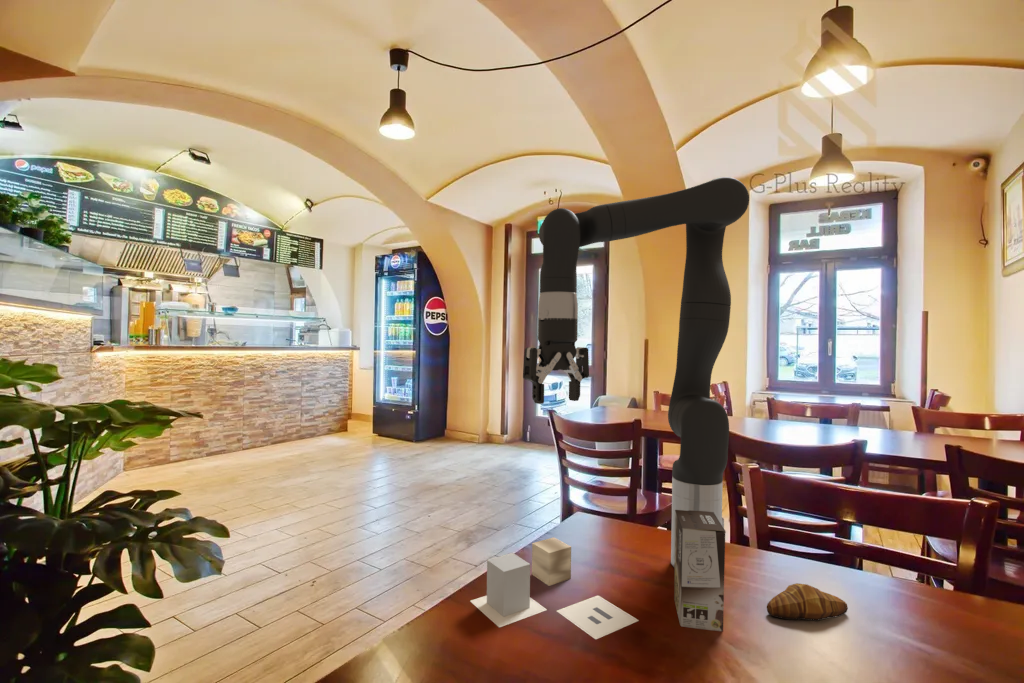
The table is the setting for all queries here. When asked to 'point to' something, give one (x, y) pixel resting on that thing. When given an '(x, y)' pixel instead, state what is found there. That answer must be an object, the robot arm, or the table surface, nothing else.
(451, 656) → the table surface
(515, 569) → the grey block
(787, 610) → the croissant
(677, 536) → the coffee box
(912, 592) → the table surface
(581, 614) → the code tile
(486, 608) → the code tile
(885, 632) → the table surface
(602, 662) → the table surface
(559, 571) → the maple block
